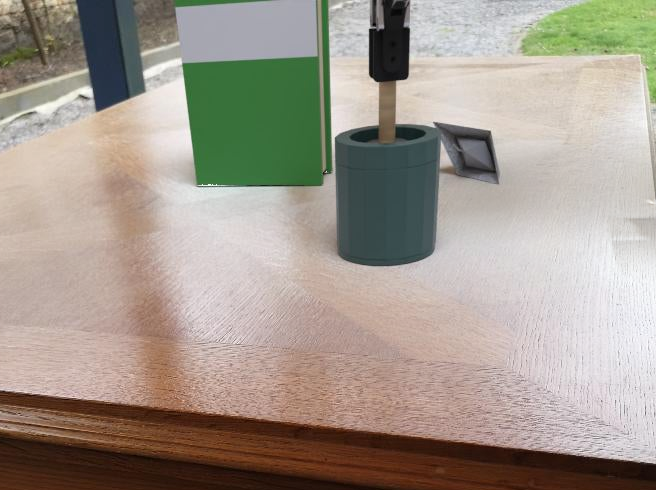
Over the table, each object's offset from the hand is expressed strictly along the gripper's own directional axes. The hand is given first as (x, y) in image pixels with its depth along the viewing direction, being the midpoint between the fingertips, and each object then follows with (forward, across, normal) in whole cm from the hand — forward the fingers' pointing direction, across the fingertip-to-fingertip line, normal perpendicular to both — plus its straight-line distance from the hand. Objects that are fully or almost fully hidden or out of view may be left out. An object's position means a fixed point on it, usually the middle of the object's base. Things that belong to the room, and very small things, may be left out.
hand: (388, 77), depth 72 cm
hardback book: (+16, +34, +11) cm, 39 cm away
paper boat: (+16, +26, -15) cm, 34 cm away
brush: (+11, 0, 0) cm, 11 cm away
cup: (+16, 0, 0) cm, 16 cm away
